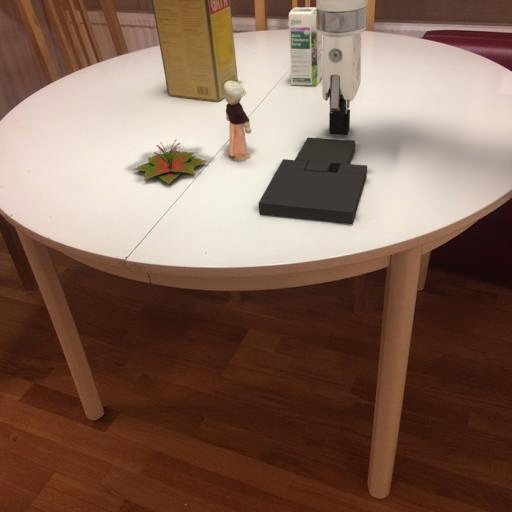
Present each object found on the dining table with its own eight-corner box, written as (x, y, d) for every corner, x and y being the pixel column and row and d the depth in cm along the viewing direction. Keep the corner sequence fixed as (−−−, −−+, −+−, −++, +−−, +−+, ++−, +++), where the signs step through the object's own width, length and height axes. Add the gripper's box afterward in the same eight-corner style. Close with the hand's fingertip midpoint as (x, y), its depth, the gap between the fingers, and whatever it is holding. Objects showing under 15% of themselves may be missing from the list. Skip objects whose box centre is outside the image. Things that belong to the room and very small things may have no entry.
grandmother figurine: (217, 153, 89) (207, 79, 82) (235, 145, 91) (226, 73, 83) (245, 168, 84) (237, 90, 77) (263, 159, 86) (257, 83, 79)
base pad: (366, 177, 79) (367, 165, 78) (352, 224, 69) (353, 212, 68) (283, 170, 83) (283, 159, 82) (259, 215, 73) (258, 202, 72)
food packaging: (241, 86, 114) (228, -44, 99) (219, 102, 108) (201, -35, 93) (190, 81, 120) (170, -43, 104) (166, 96, 113) (141, -34, 98)
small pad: (355, 151, 86) (355, 140, 85) (342, 184, 78) (342, 172, 77) (307, 148, 88) (307, 137, 87) (290, 179, 80) (289, 167, 79)
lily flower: (119, 174, 86) (113, 149, 83) (173, 146, 93) (169, 122, 90) (168, 195, 80) (162, 168, 77) (222, 163, 86) (219, 137, 84)
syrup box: (290, 85, 112) (287, 13, 104) (297, 76, 117) (295, 5, 108) (316, 86, 111) (315, 12, 102) (322, 76, 115) (322, 5, 106)
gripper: (359, 33, 72) (354, 154, 83) (372, 6, 83) (367, 116, 94) (306, 33, 74) (308, 151, 85) (326, 7, 85) (325, 114, 97)
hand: (339, 132), depth 90 cm, fingers closed
